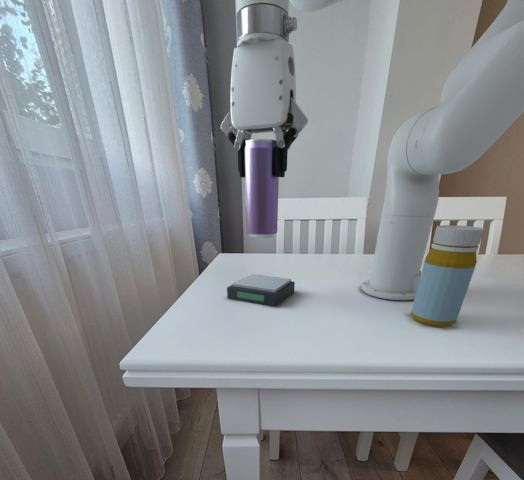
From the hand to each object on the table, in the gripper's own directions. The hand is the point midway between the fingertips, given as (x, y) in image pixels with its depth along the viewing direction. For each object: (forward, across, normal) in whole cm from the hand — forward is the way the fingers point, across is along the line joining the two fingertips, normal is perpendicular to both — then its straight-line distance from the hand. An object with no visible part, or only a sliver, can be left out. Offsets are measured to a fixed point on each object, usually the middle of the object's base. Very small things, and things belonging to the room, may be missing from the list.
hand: (262, 176), depth 52 cm
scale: (+22, 0, 0) cm, 22 cm away
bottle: (+22, -32, -1) cm, 39 cm away
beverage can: (+10, 0, 0) cm, 10 cm away
